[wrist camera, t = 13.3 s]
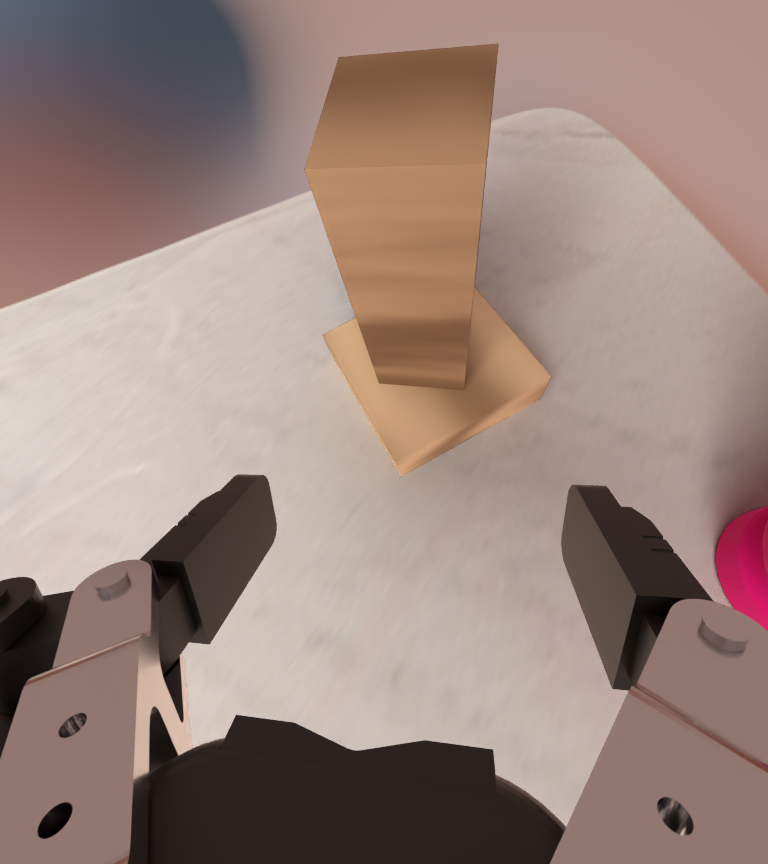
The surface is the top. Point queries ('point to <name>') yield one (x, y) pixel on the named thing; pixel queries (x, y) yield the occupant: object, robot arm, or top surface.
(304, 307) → the top surface
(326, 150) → the walnut pillar
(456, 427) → the oak base
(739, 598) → the pepper mill
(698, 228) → the top surface
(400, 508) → the top surface
